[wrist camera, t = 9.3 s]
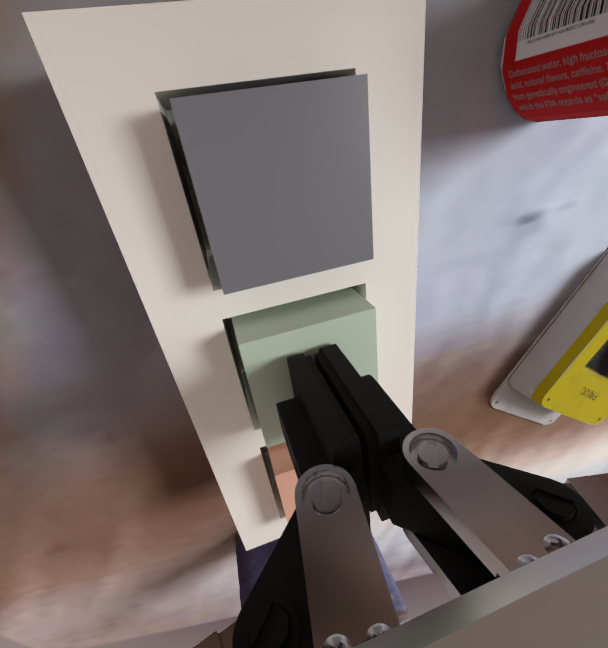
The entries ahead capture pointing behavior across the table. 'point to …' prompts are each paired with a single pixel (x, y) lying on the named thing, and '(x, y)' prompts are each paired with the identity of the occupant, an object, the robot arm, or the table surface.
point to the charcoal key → (281, 177)
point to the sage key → (302, 345)
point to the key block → (182, 205)
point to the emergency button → (565, 360)
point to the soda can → (557, 59)
